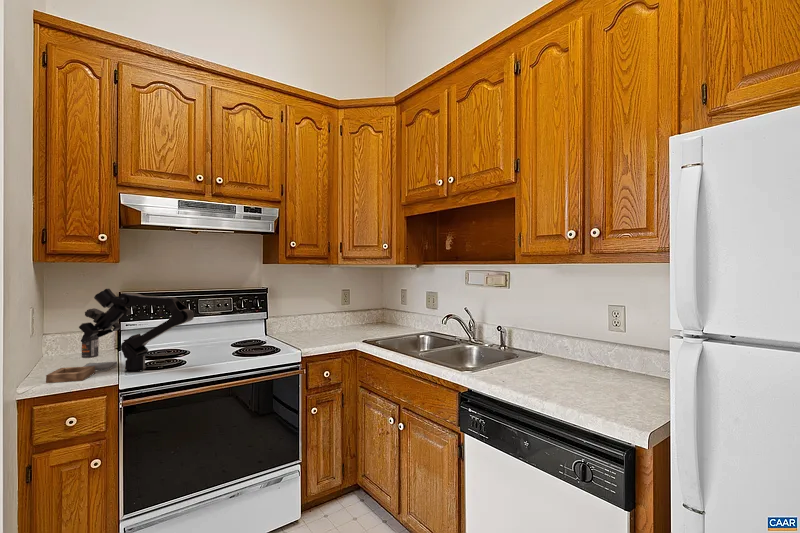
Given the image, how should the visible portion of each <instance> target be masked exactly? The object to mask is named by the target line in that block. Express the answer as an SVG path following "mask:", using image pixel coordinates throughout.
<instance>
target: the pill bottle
mask: <svg viewBox="0 0 800 533" xmlns="http://www.w3.org/2000/svg"><path fill="white" fill-rule="evenodd" d="M99 338H100V337H98V336H96V337H94V338H91V339H89V340H87V341H85V342H83V343H82V342H81V358H82V359H93V358H97V357H99V347H100V346H99V343H100V342H99Z"/></svg>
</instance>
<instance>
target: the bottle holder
mask: <svg viewBox="0 0 800 533" xmlns="http://www.w3.org/2000/svg"><path fill="white" fill-rule="evenodd" d="M93 373H94V374H95V373H96V371H95V366H86V367H83V366H71V367H60V368H58V369H56V370H54V371H51V372H50V373H47V374H45V383H46V384H48V383H49V384H50V383H52V384H53V383H65V382H66V383H67V382H69V383H70V382H81V381H85V380H86V379H88V378H89V377H91V376H93V375H94V374H93ZM92 374H93V375H92ZM90 375H91V376H90ZM87 377H88V378H87Z"/></svg>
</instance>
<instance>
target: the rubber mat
mask: <svg viewBox="0 0 800 533" xmlns="http://www.w3.org/2000/svg"><path fill="white" fill-rule="evenodd" d="M117 365H118V361H102V362H101V361H100V362H89V363H86V364H85V365H83V366H82V367H86V366H95V370H99V371H109V370H111V369H112V368H113V366H114V367H115V366H117ZM110 368H111V369H110ZM108 369H109V370H108Z"/></svg>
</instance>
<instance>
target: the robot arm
mask: <svg viewBox="0 0 800 533" xmlns="http://www.w3.org/2000/svg"><path fill="white" fill-rule="evenodd" d="M93 298H94V300H95V301H96V302H97V303H98V304H100V305H101V307H102V308H104V309H105V308H106V309H107V308H108V309H107V310H106V311H105V312H104V311H102V310H100V309H98V308H88V309H87V310H86V311H84V316H85V317H86V318H89V319H92V322H93V323H94V324H93V323H92V322H88V321H87V322H84V323H83V322H82V323H81V324H80V325H79V326H78V329H80V330H81V331H82V332H83V335H82V337H81V339H80V342H81V344H82V343H83V342H85V341H87V340H89V339H91V338H94V337H96V336H98V337H99V338H101V337H104V336H106V335H109V334H112V333H113V332H116V331H119V330H120V329H121V324H120V323H119V322H120V320H119V319H121V318H122V316H123V315H124V316H131V314H132V311H131V310H132V309H131V308H127V307H132V306H135V307H136V306H159V307H160V306H162V307H167V309H168V310H169V311H168V312H170V314H171V316H170V317H169V318H168V319H167V320H166V321H164V322H162V323H160V324H159V325H157V326H155V327H153V328H152V329H150V330H148V331H146V332H144V333H143V334H142V335H141V333H136V334H133V335H131V336H129V337H128V338H125V339H124V340H123V342H122V343H121V344H120V351H121V352H122V354H123V356H124V359H126V360H125V362H124V366H125V371H124V373H130V372H135V373H137V372H143V371H144V370H146V369H147V366H146V355H147V354H148V352H149V349H148V348H147V347H146V345H147V344H148V343H149V342H151V341H153V340H154V339H156V338H157V337H159V336H161V335H163V334H164V333H167V332H168V331H170V330H172V329H173V328H175V327H177V326H181V325H183V324H185V323H186V324H187V323H189V322H191V321H193V320H194V319H195V318H194V317H195V313H194V311H193V310H192V309H190V308H188V306H187V305H186V304H184V303H183V302H181V301H180V299H179V298H177V297H175V296H154V295H153V296H152V295H151V296H150V295H143V294H140V293H137V292H126V293H121V294H120V295H116V294H115V293H114V292H113V291H112V290H111V289H110V288H105V289H103V290H102V291H101V290H100V292H98V293H97V294H95V295H94V297H93Z"/></svg>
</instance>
